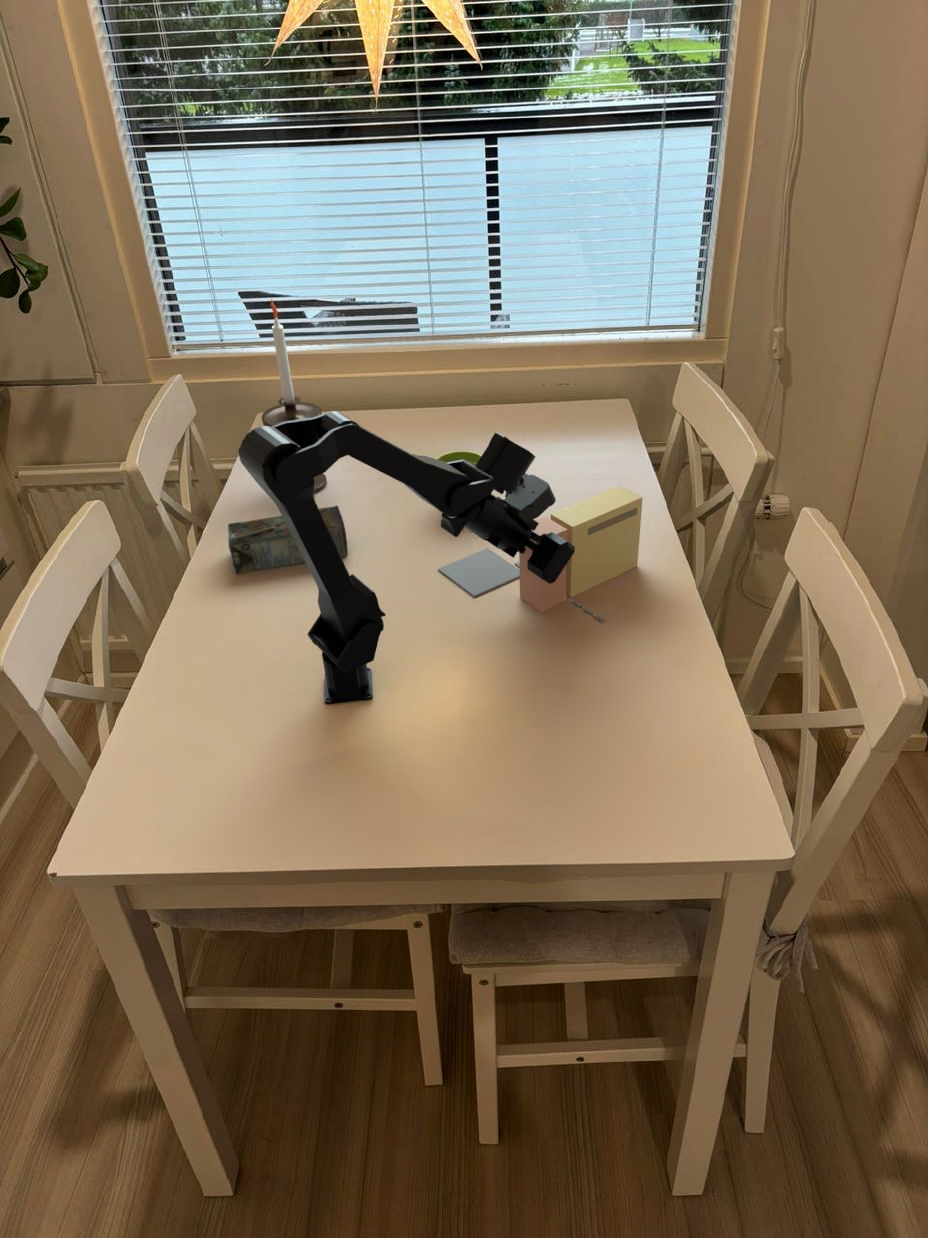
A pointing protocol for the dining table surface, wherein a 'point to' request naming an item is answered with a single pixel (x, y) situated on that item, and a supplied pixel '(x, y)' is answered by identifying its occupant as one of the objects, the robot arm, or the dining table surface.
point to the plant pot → (460, 457)
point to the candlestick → (289, 394)
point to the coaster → (480, 572)
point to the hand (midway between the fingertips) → (550, 558)
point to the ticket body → (601, 537)
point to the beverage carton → (276, 542)
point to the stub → (532, 585)
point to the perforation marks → (581, 606)
